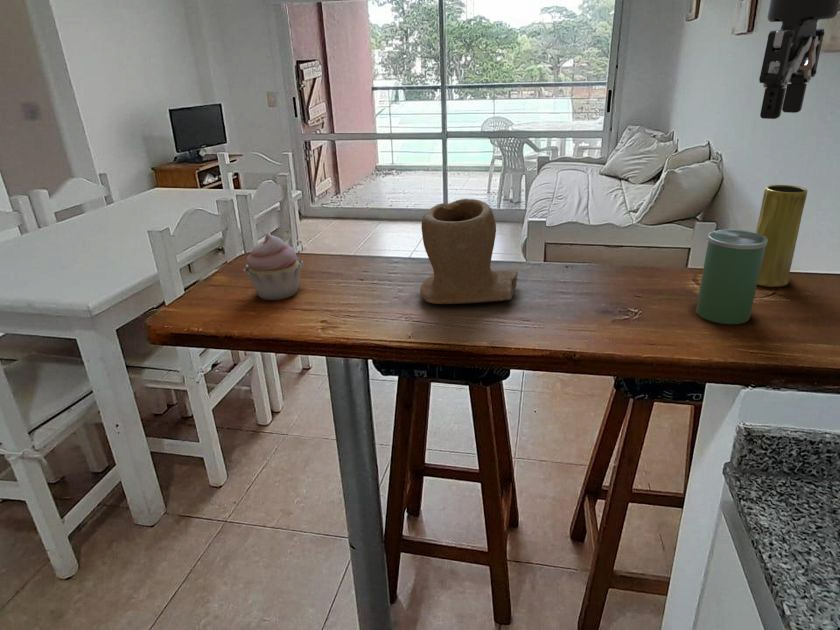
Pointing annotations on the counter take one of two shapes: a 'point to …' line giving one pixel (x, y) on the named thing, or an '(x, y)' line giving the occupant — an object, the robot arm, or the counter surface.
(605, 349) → the counter surface
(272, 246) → the cupcake
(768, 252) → the vase
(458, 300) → the stone cup
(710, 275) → the green can
